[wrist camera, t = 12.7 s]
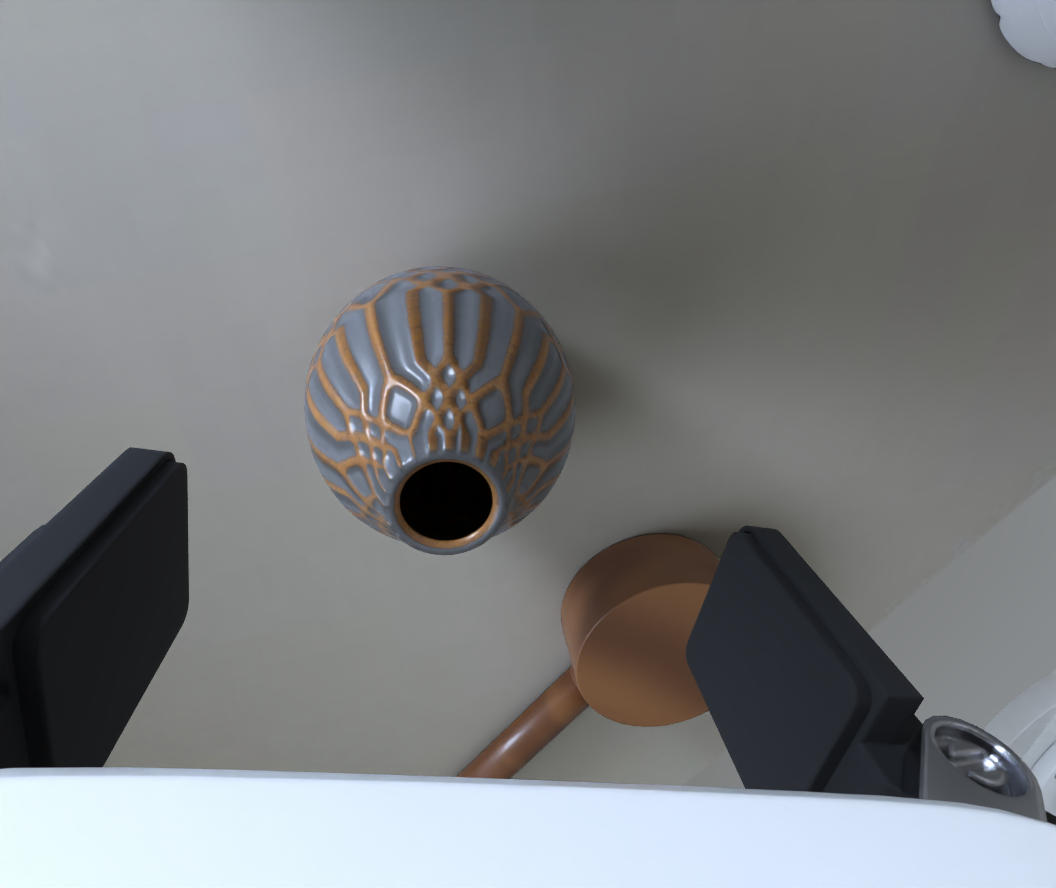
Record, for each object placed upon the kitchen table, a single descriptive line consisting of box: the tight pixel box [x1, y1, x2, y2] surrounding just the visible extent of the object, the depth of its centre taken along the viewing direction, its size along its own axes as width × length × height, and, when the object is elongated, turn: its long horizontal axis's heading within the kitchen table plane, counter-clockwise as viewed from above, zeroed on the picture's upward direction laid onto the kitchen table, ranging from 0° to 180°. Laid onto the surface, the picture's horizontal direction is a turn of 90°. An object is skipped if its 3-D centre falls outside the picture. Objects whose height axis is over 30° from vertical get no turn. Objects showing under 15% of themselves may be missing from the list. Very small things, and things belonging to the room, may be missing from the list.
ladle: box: [457, 534, 720, 779], centre depth 26 cm, size 24×7×3 cm, turn 140°
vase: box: [305, 267, 575, 555], centre depth 16 cm, size 7×7×9 cm
